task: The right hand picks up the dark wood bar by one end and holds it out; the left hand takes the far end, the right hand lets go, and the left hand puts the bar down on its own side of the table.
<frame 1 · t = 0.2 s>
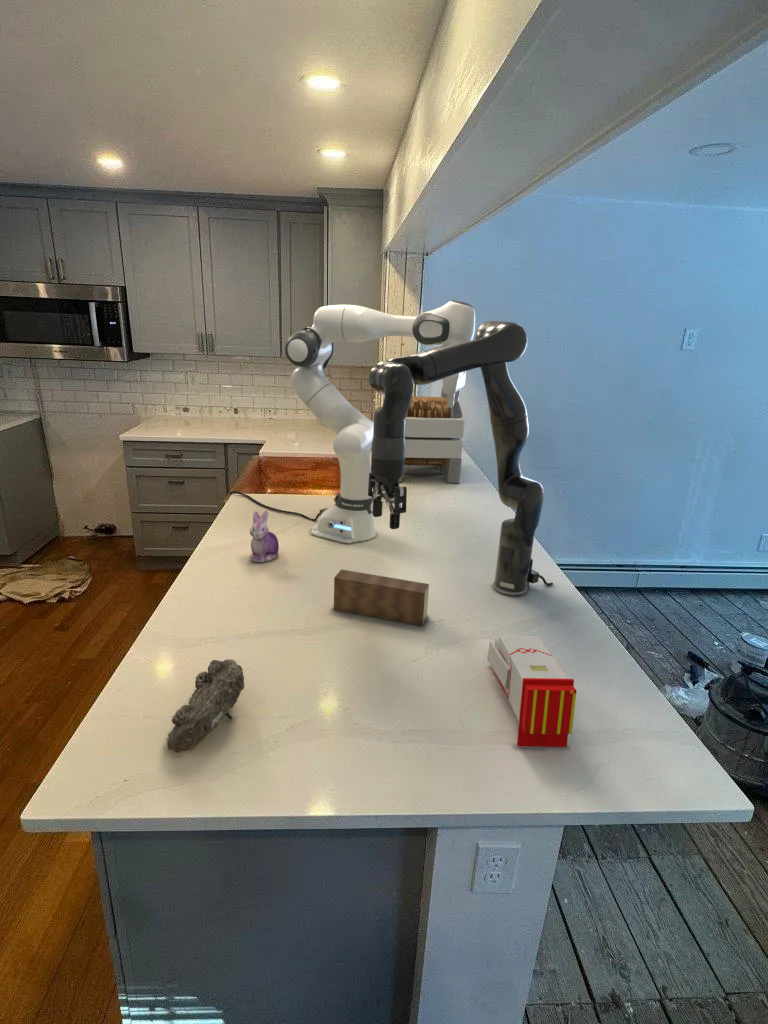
left hand: (452, 405, 174), 48 cm above the counter, tool pointing down, fingers open, 8 cm apart
right hand: (385, 522, 132), 28 cm above the counter, tool pointing down, fingers open, 8 cm apart
figurine character: (368, 499, 234), on the counter
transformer: (419, 473, 275), on the counter
bar: (380, 612, 148), on the counter
fossil: (212, 717, 108), on the counter
figurine: (264, 557, 177), on the counter
toy: (522, 699, 117), on the counter
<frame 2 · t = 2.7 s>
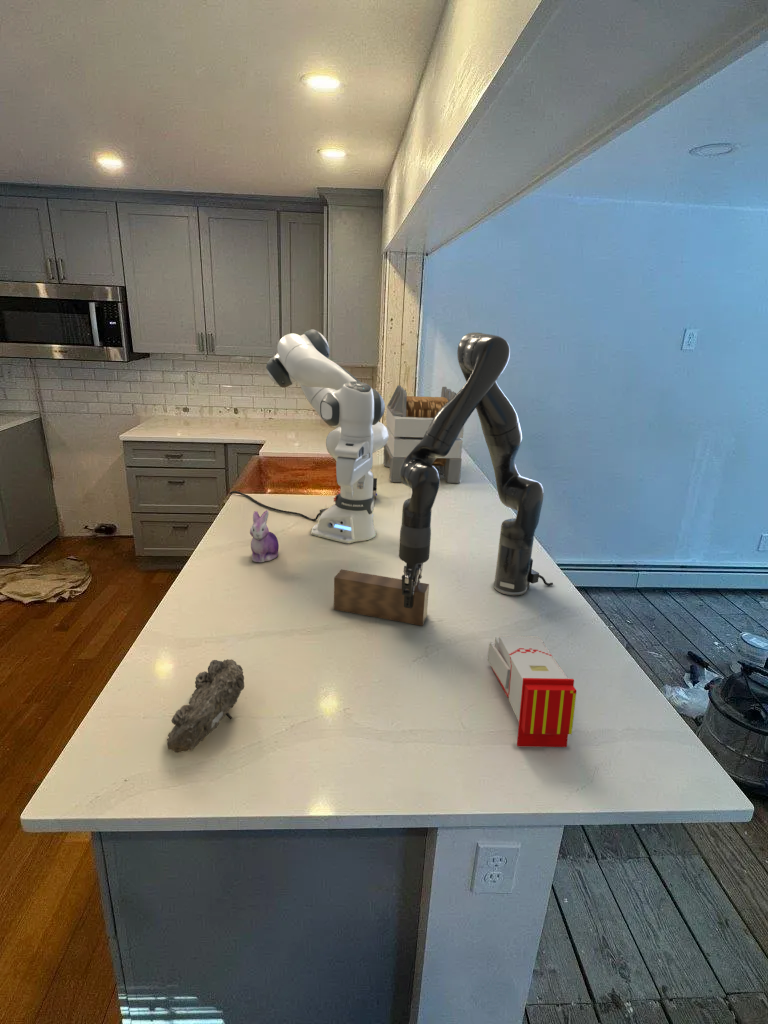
left hand: (355, 493, 157), 26 cm above the counter, tool pointing down, fingers open, 8 cm apart
right hand: (410, 601, 144), 5 cm above the counter, tool pointing down, fingers closed on bar, 5 cm apart
bar: (380, 612, 148), on the counter, touching right hand
everything else where it was.
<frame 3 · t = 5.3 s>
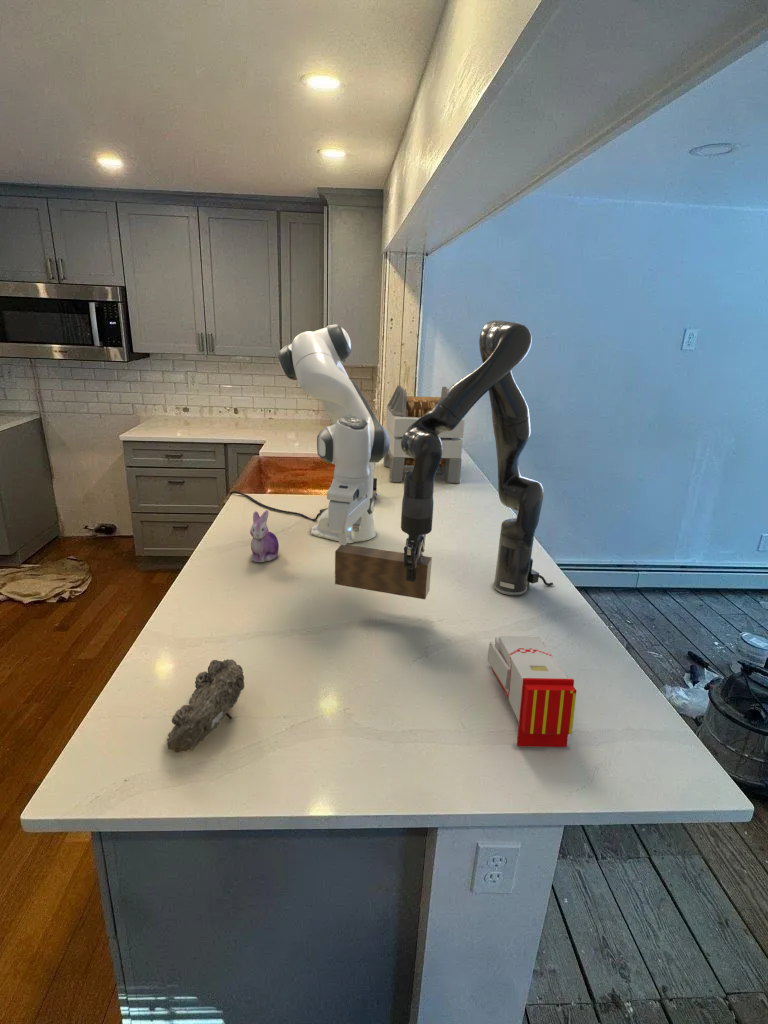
left hand: (350, 537, 143), 20 cm above the counter, tool pointing down, fingers open, 8 cm apart
right hand: (413, 575, 142), 12 cm above the counter, tool pointing down, fingers closed on bar, 5 cm apart
bar: (381, 587, 145), point 7 cm above the counter, touching right hand
everything else where it was.
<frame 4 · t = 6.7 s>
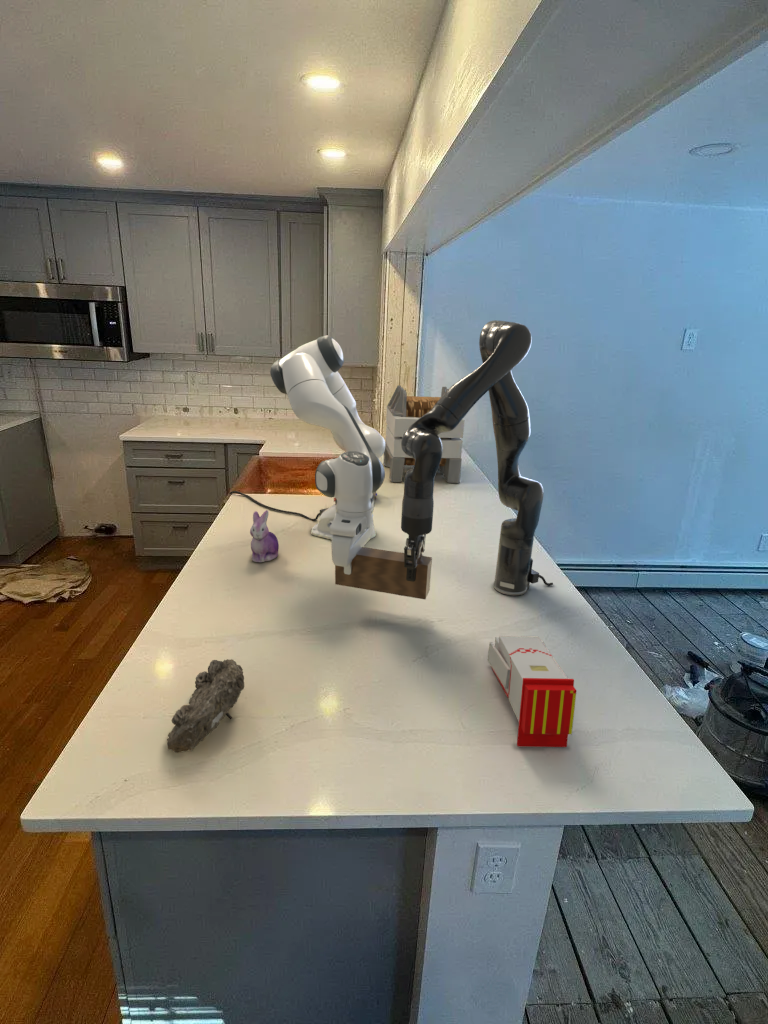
left hand: (352, 568, 146), 11 cm above the counter, tool pointing down, fingers closed on bar, 5 cm apart
right hand: (413, 575, 142), 12 cm above the counter, tool pointing down, fingers closed on bar, 5 cm apart
bar: (382, 587, 145), point 7 cm above the counter, touching left hand, right hand
everything else where it was.
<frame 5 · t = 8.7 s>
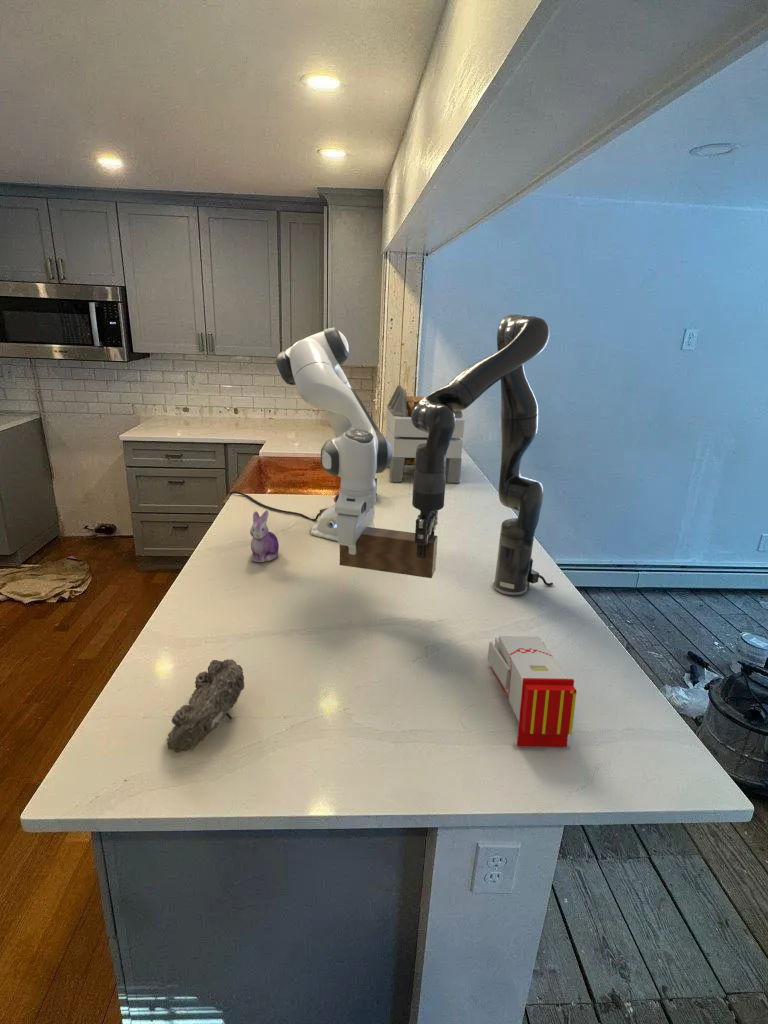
left hand: (356, 548, 144), 17 cm above the counter, tool pointing down, fingers closed on bar, 5 cm apart
right hand: (425, 550, 139), 19 cm above the counter, tool pointing down, fingers open, 8 cm apart
bar: (387, 567, 144), point 13 cm above the counter, touching left hand
everything else where it was.
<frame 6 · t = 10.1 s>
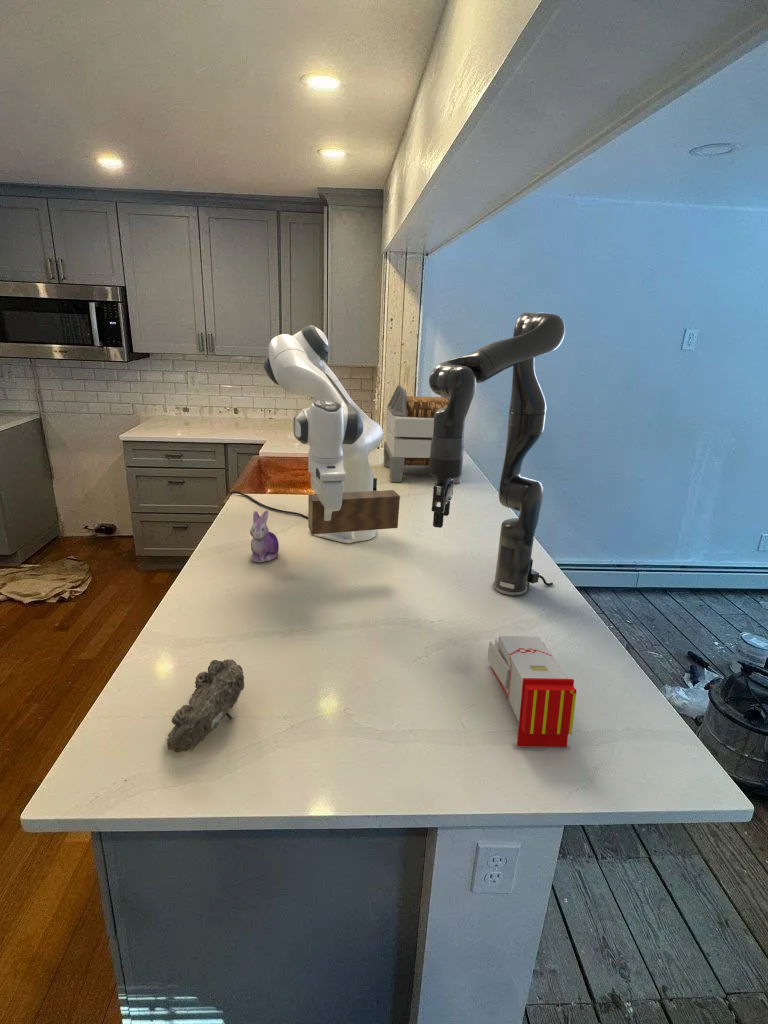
left hand: (324, 515, 150), 23 cm above the counter, tool pointing down, fingers closed on bar, 5 cm apart
right hand: (441, 520, 135), 28 cm above the counter, tool pointing down, fingers open, 8 cm apart
bar: (353, 527, 154), point 18 cm above the counter, touching left hand
everything else where it was.
when the left hand's fingers open (5 cm above the counter, at t = 13.5 s): bar stays where it is, on the counter.
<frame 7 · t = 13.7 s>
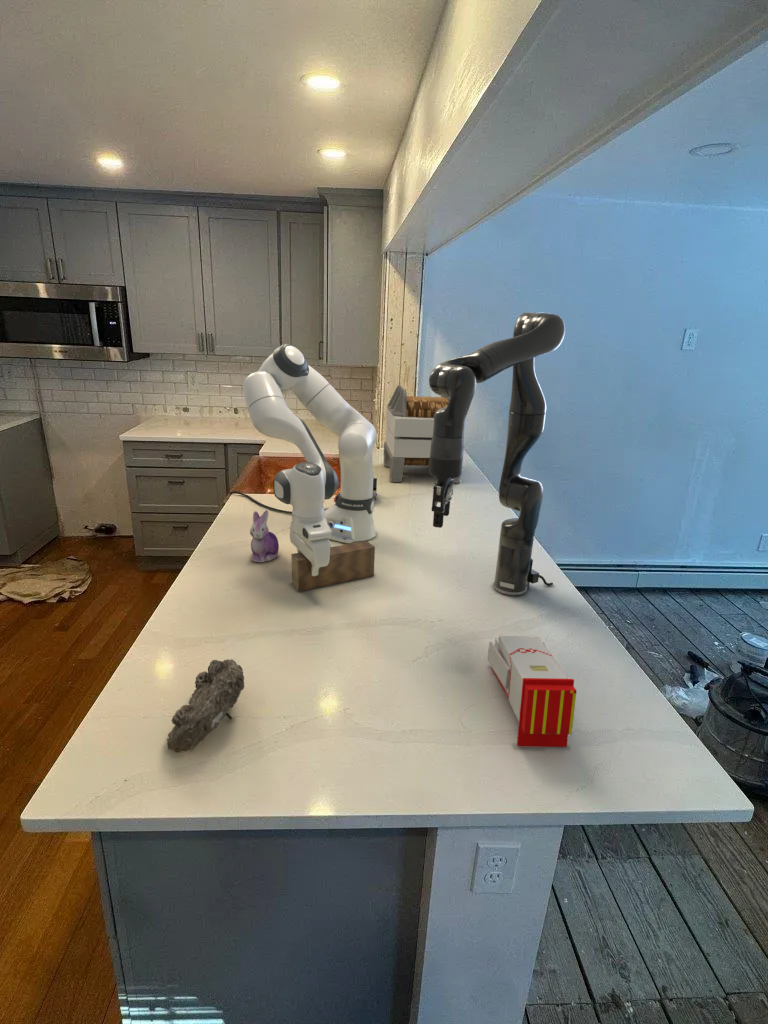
left hand: (308, 568, 159), 5 cm above the counter, tool pointing down, fingers open, 7 cm apart
right hand: (441, 520, 135), 28 cm above the counter, tool pointing down, fingers open, 8 cm apart
bar: (333, 579, 164), on the counter
everything else where it was.
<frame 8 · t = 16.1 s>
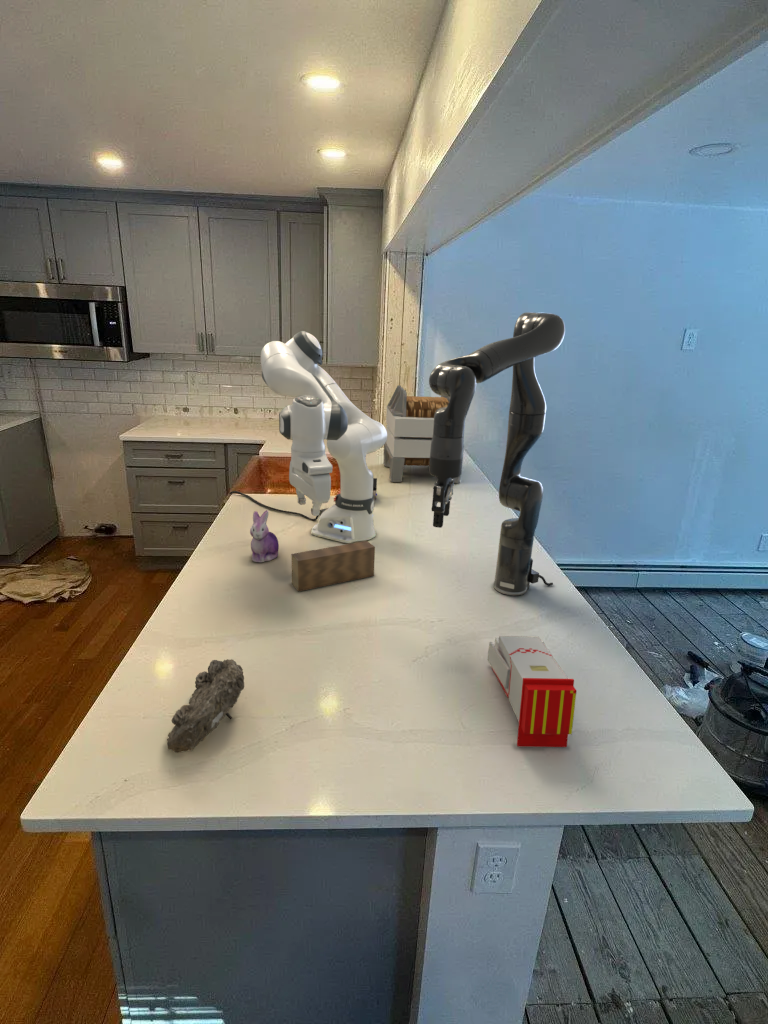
left hand: (308, 509, 153), 23 cm above the counter, tool pointing down, fingers open, 8 cm apart
right hand: (441, 520, 135), 28 cm above the counter, tool pointing down, fingers open, 8 cm apart
nothing on the counter moved.
at the end: bar inside the target area (7.9 cm from its centre), on the counter; the left hand is holding nothing; the right hand is holding nothing; bar at rest at the end (0.0 cm/s) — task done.
